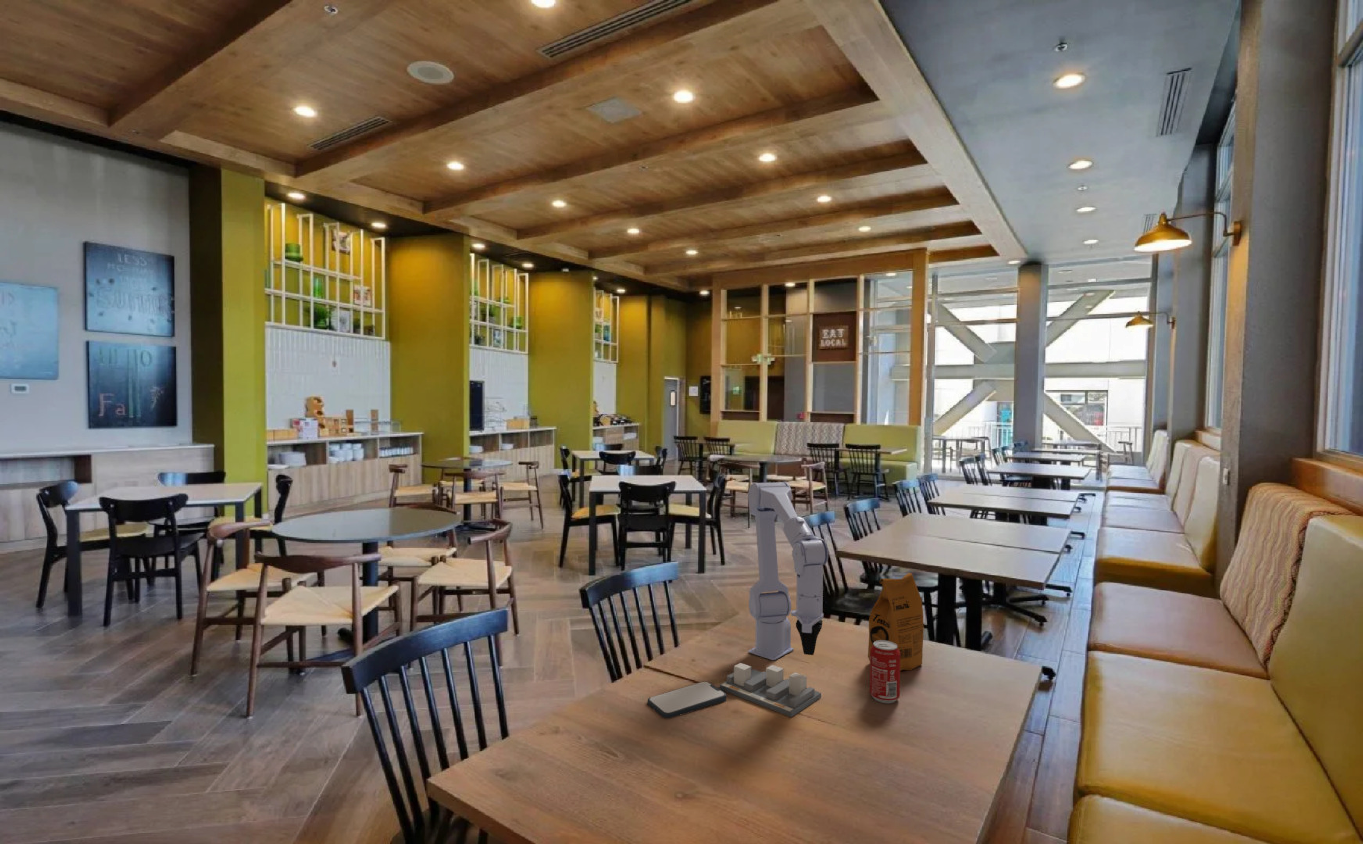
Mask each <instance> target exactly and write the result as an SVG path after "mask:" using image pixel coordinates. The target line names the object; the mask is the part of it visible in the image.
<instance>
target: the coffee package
mask: <svg viewBox="0 0 1363 844" xmlns="http://www.w3.org/2000/svg"><path fill="white" fill-rule="evenodd" d="M879 584H880V585H881V586H882V589H881V591H880V593H879V596H878V599H877V601H876V602H875V603H874V605H873V607H872V609H871V611H870V614H869V619H868V646H867V649H868V650H867V651H868V652H867V658H868V660H869V661H868V662H870V649H871V647H872V646H873V643H874V642H875V641H879V640H885V641H891V642H893V643H895V644H896V645H897V648H898V650H899V651H900V672H901V671H903V670H904V671H912V669H913V670H915V669H916V668H918V667H919V666H921V665H923V655H924V654H923V651H924V650H923V647H924V611H923V610H924V609H923V601H922V597H921V594H920V592H919V590H918V586H917V583H916V581H915V578H914V576H913V573H911V572H908V573H906V574H905V575H904V576H903V577H902V578H884V577H883V578H881V579H880V580H879ZM914 668H915V669H914Z"/></svg>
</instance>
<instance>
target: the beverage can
mask: <svg viewBox="0 0 1363 844" xmlns="http://www.w3.org/2000/svg"><path fill="white" fill-rule="evenodd" d="M900 691H901V671H900V651H899V650H898V648H897V645H896V644H895V643H893V642H891V641H885V640H879V641H875V642H874V643H873V646H872V647H871V649H870V661H869V694H870V696H872V698H873V700H875V701H876V702H879V703H880V704H881V703H882V704H893V703H895V702H896V701H897V700H898V699H899V698H900V697H901V696H900V695H901V694H900Z"/></svg>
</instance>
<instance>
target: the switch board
mask: <svg viewBox="0 0 1363 844" xmlns="http://www.w3.org/2000/svg"><path fill="white" fill-rule="evenodd" d="M718 688H719V689H720V690H722V691H723V692H725V693H728V694H730V695H734V696H736V697H738V698H741V699H744V700H746V701H749V702H752V703H754V704H756V705H759V706H761V707H764V708H766V709H769V710H771V711H774V712H777V713H780V714H781V715H784V716H787V717H790V718H793V717H794V716H795V715H797V714H799V713H800V712H802V711H803V710H805V709H806V708H807V707H810V706H811V705H812V704H813V703H815V702H817V700H819V699H821V698H822V692H820V691H817V690H815V689H816V688H814V687H812V686H809V687H807V689H806V690H804V691H802V692H801V693H799V694H798V695H796V696H795V695H792V694H789V678H785V679H783V681H782V682H780V683H778V684H777V685H775V686H773V687H770V686H767V685H766V670H764V671H760V670H756V669H754V668H752V666H751V679H749V680H747V681H745V682H744V687H743V686H740V685H738V684H735V683H734V672H732V673H730V674H728V675H726V681H724V682H722V683H720V684H719V687H718Z"/></svg>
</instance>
